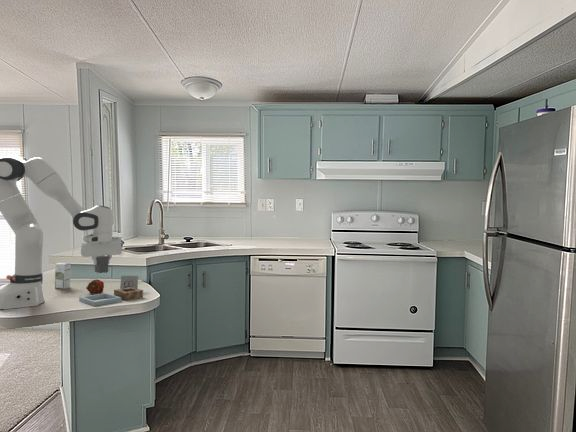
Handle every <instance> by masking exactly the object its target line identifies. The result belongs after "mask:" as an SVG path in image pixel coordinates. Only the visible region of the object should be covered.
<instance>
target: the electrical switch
mask: <svg viewBox="0 0 576 432" xmlns="http://www.w3.org/2000/svg"><path fill="white" fill-rule="evenodd" d="M119 285H120V286H119V289H123V288H130V287H133V288H137V289H139V287H138V285H139V276H138V275H121V276H120V284H119Z"/></svg>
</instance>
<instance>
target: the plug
mask: <svg viewBox="0 0 576 432" xmlns="http://www.w3.org/2000/svg"><path fill="white" fill-rule="evenodd" d="M108 258H109V257H108V256H107V255H104V256H97V258H95V259H96V261H98V265H94V272H95V273H98V274H102V273H104V274H105V273H108V272H109V264H108Z"/></svg>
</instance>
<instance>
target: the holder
mask: <svg viewBox="0 0 576 432" xmlns="http://www.w3.org/2000/svg"><path fill="white" fill-rule="evenodd" d="M113 295H115V296H118V297H121V301H131V299H132V300H136V299H135V298H138V299H141V298H140V297H144V296H143V295H144V290H143V289H140V288H138V289H137V288H133V287H130V288H123V289H120V288H118V289H114V290H113Z"/></svg>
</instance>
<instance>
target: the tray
mask: <svg viewBox="0 0 576 432" xmlns="http://www.w3.org/2000/svg"><path fill="white" fill-rule="evenodd" d="M104 298H105V299H104ZM97 299H98V300H97ZM99 299H101V300H99ZM78 300H79V302H81V303H84V304H87V305H90V306H92V307H96V306H103V305H108V304H109V305H110V304H113V303H119V302H120V303H121V302H122V300H121V297H118V296H115V295H114V294H111V293H108V292H102V293H98V294H91V295H86V296H85V295H84V296H79V298H78Z"/></svg>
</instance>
